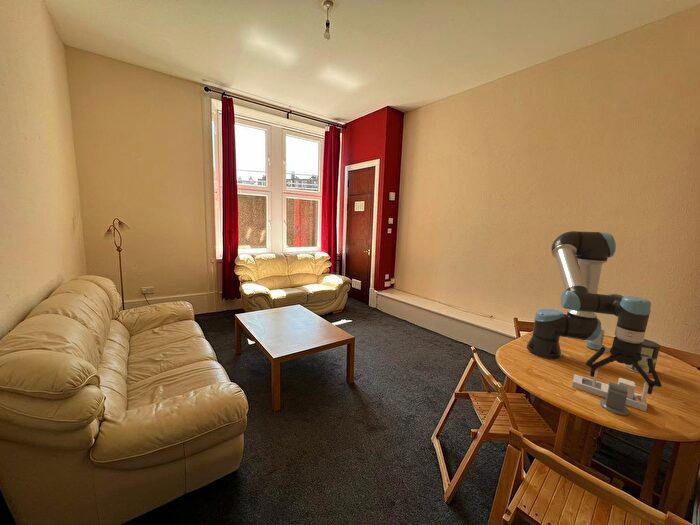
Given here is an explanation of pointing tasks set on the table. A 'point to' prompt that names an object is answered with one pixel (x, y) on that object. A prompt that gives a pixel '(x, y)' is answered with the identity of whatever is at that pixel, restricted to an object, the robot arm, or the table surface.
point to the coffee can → (647, 350)
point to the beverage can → (596, 341)
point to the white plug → (628, 387)
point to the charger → (616, 396)
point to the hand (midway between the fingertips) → (617, 392)
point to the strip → (605, 391)
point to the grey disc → (603, 404)
